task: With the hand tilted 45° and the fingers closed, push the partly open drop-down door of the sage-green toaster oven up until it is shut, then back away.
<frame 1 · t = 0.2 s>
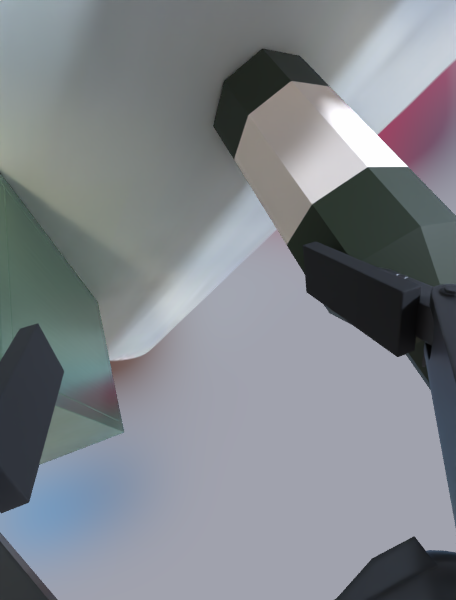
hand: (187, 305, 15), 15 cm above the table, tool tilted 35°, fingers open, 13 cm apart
wine bottle: (260, 107, 25), on the table, touching gripper
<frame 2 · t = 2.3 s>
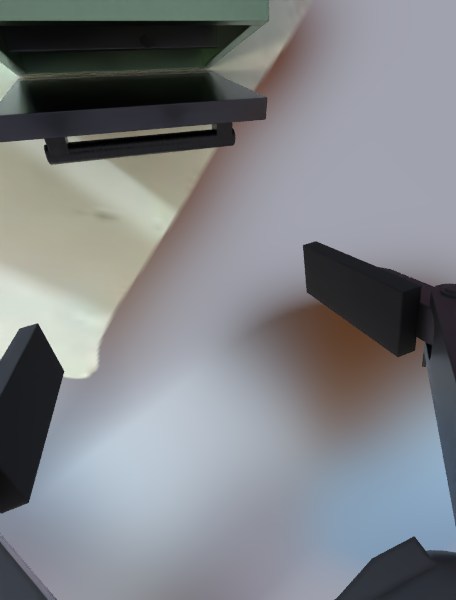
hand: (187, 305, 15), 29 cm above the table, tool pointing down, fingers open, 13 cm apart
oven door: (134, 111, 30), point 7 cm above the table, hinge at 16.1°
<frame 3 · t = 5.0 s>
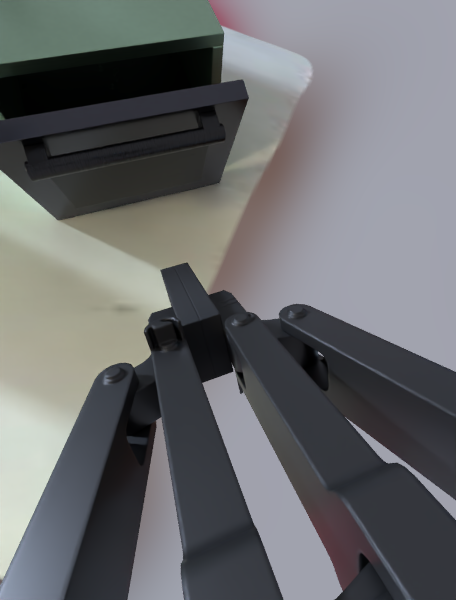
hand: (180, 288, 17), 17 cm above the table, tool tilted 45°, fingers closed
oven: (123, 139, 41), on the table
oven door: (136, 173, 31), point 7 cm above the table, hinge at 16.1°
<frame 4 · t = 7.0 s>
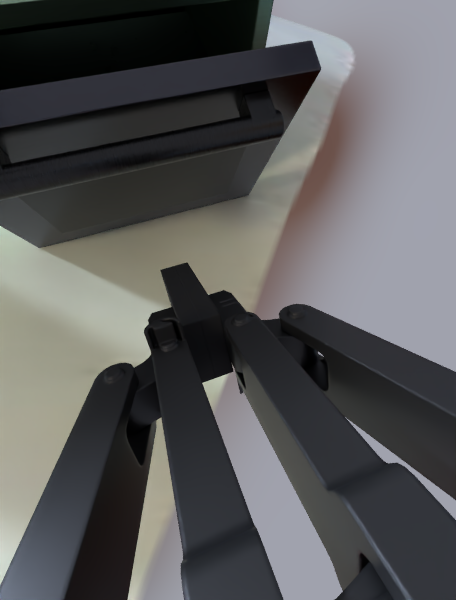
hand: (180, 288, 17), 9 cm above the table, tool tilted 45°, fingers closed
oven: (124, 141, 32), on the table
oven door: (143, 186, 22), point 7 cm above the table, hinge at 16.1°
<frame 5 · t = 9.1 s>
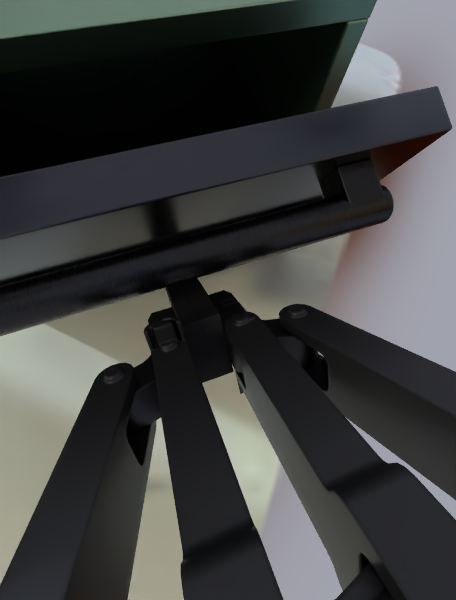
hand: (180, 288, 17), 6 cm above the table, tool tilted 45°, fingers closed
oven: (138, 179, 27), on the table
oven door: (173, 263, 17), point 7 cm above the table, hinge at 15.5°, touching gripper
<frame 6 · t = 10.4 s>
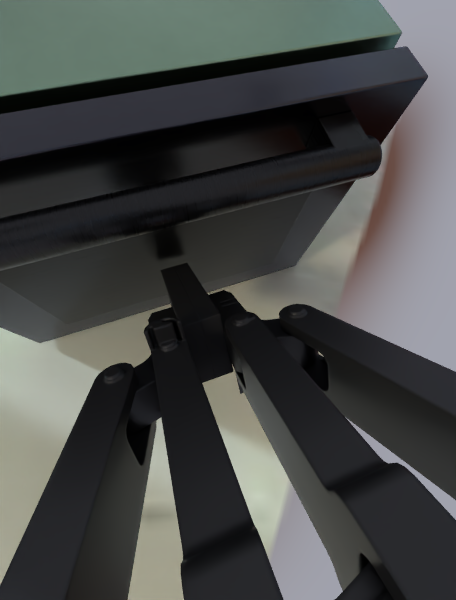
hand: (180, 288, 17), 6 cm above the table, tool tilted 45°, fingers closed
oven: (144, 198, 27), on the table
oven door: (171, 259, 16), point 8 cm above the table, hinge at 0.8°, touching gripper
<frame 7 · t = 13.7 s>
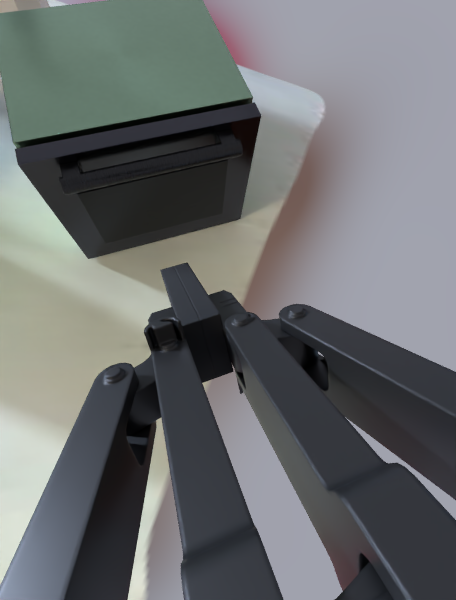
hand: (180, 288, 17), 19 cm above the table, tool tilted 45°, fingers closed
oven: (147, 179, 43), on the table
oven door: (161, 201, 33), point 8 cm above the table, hinge at 0.8°
wine bottle: (40, 58, 50), on the table
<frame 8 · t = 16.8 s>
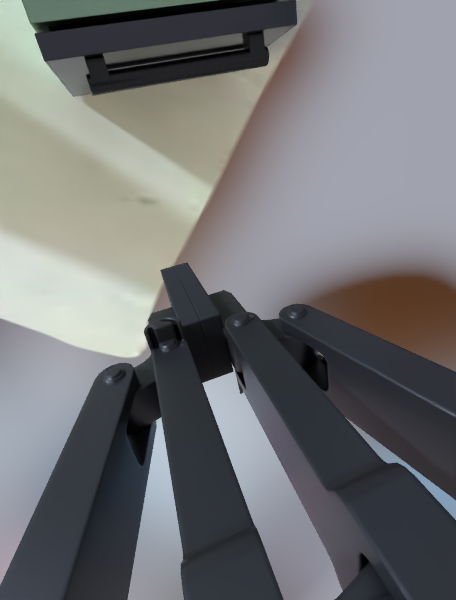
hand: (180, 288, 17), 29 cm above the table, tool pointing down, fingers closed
oven door: (168, 70, 31), point 8 cm above the table, hinge at 0.8°
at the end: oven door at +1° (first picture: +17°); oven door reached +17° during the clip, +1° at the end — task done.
